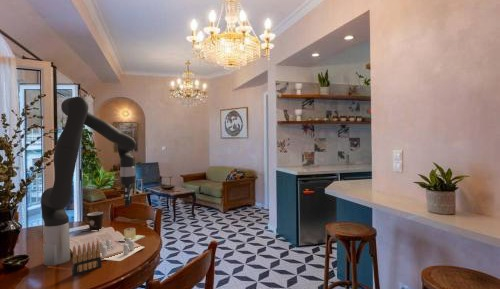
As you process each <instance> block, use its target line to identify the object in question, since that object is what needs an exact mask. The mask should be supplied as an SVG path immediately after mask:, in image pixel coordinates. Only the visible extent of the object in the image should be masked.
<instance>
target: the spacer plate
mask: <svg viewBox="0 0 500 289" xmlns="http://www.w3.org/2000/svg"><path fill="white" fill-rule="evenodd" d="M99 245H100V253H102V256H103V257H105V256H107V249H111V246H112V239H106V240H105V243H103V242H102V243H99ZM122 245H123V253H121V254H118V255H115V256H112V257H109V258H104V259H103V261H104V260H106V261H115V262H116V261H117V262H121V261H123V260H125V259H126V258H129V257H130V256H132V255H134V254H135V253H137V252H138V251H141V250H142V249H144V248H145V246H142V245H141V246H140V247H138V248H135V249H134V246H135V242H134V240H131V238H127V239H126V242H125V244H122ZM128 247H129V251H128Z"/></svg>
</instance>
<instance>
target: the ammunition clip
mask: <svg viewBox="0 0 500 289" xmlns="http://www.w3.org/2000/svg"><path fill="white" fill-rule="evenodd" d="M91 255H92V257H91ZM71 259H72V264H71V265H72V267H71V268H72V269H71V270H72V272H71V275H72V277H76V276H77V277H78V276H80V275H83V274H86V273H91V272H92V271H94V270H96V269H100V268H102V266H103V265H102V259H101V255H100V241H99V240H97V241H96V244H95V241H92V244H90V242H87V246H86V244H85V243H83V244H82V247H81V245H80V244H78V246H77V248H76V246H75V245H74V246H73V247H72V258H71Z"/></svg>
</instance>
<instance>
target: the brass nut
mask: <svg viewBox="0 0 500 289" xmlns="http://www.w3.org/2000/svg"><path fill="white" fill-rule="evenodd" d="M136 235H137V234H136V228H135V227H127V228H125V229H124V228H123V237H124V239H125V240H126V239H127V238H131V240H132V239H134V238H136Z"/></svg>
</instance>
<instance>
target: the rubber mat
mask: <svg viewBox="0 0 500 289" xmlns="http://www.w3.org/2000/svg"><path fill="white" fill-rule="evenodd" d="M121 238H123V239H124V236H122V237H121ZM144 238H146V235H141V234H136V238H134V239H132V240H134V243H135V242H137V241H138V240H141V239H144ZM124 240H125V239H124ZM125 241H126V240H125Z"/></svg>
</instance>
